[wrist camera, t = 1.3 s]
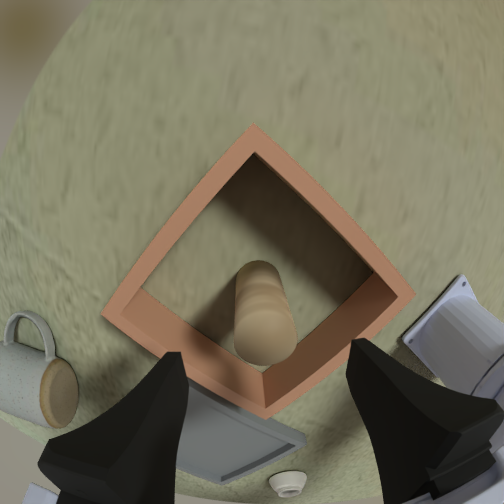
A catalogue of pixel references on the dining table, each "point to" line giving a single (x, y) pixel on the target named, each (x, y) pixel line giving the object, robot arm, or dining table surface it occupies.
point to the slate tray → (229, 438)
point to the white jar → (288, 483)
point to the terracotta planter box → (306, 352)
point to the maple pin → (262, 316)
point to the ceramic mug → (36, 378)
